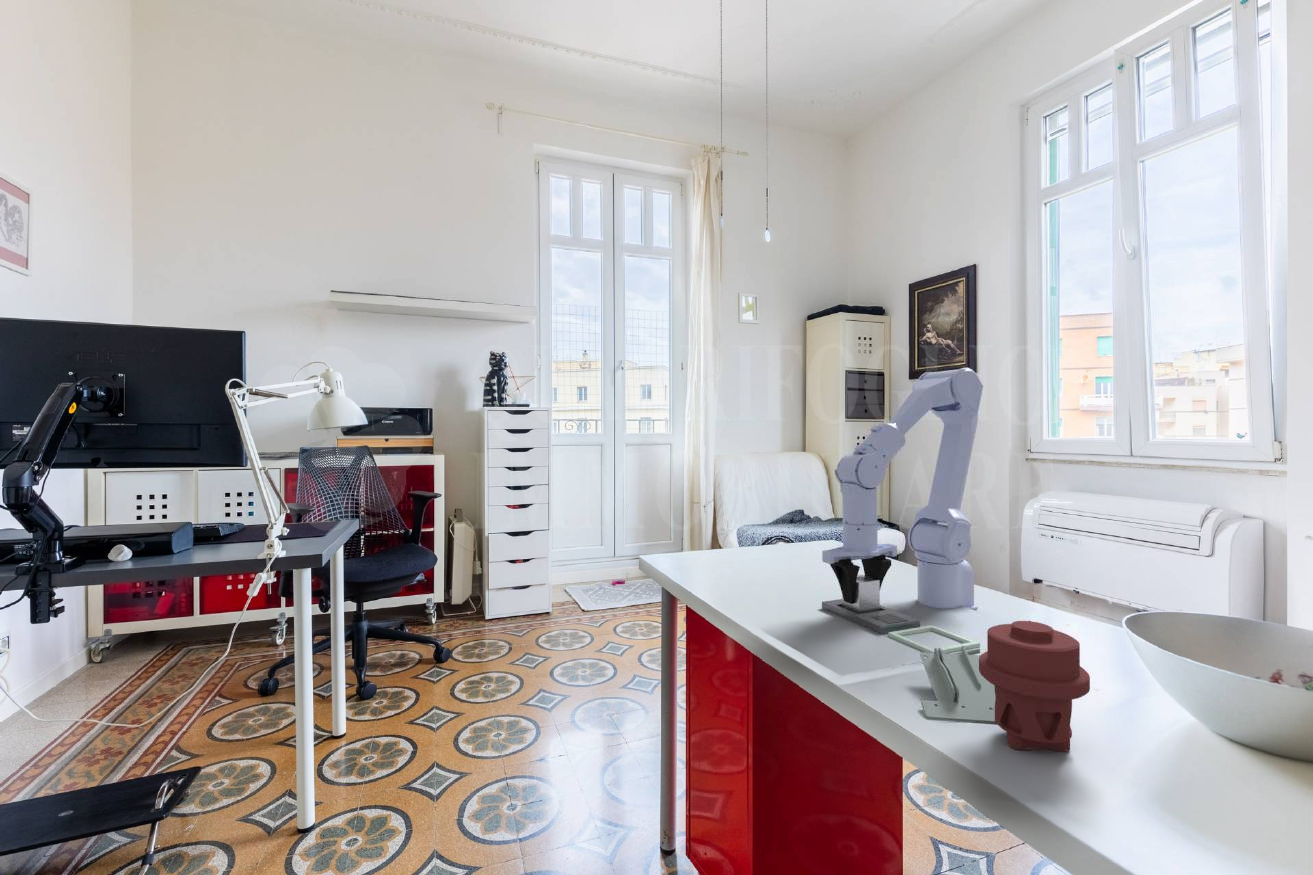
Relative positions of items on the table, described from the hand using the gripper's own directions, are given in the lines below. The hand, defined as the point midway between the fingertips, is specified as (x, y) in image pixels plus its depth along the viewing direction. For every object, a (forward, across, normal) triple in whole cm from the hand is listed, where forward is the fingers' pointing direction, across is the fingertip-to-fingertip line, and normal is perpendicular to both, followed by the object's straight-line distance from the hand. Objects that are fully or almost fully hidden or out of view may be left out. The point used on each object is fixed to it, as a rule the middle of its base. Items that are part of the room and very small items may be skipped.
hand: (860, 600), depth 106 cm
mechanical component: (+3, -11, -40) cm, 42 cm away
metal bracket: (+4, -8, -31) cm, 32 cm away
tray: (+3, +1, -15) cm, 15 cm away
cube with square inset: (+2, 0, 0) cm, 2 cm away
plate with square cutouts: (+3, 0, -2) cm, 4 cm away
